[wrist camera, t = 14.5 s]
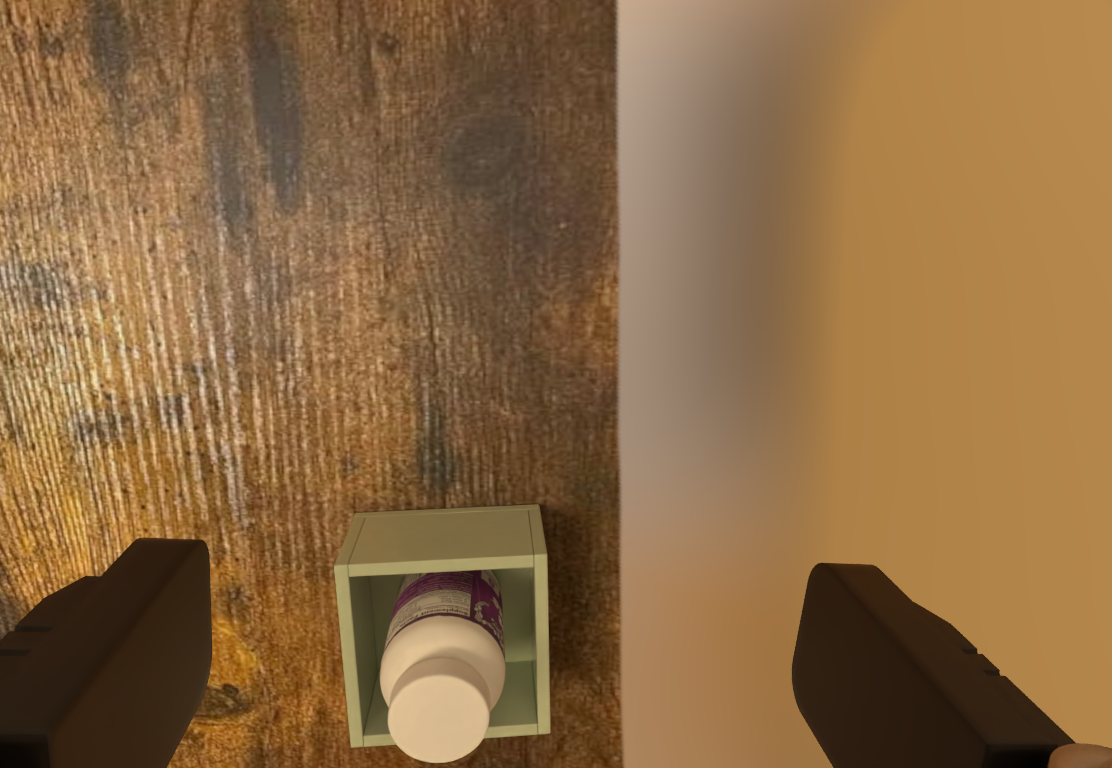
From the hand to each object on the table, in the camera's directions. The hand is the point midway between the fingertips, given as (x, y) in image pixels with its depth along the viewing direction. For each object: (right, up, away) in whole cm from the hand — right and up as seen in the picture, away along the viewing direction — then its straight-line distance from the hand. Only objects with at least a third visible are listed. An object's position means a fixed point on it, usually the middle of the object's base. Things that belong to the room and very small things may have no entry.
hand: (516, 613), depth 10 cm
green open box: (-5, -8, +30) cm, 31 cm away
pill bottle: (-5, -8, +29) cm, 31 cm away
